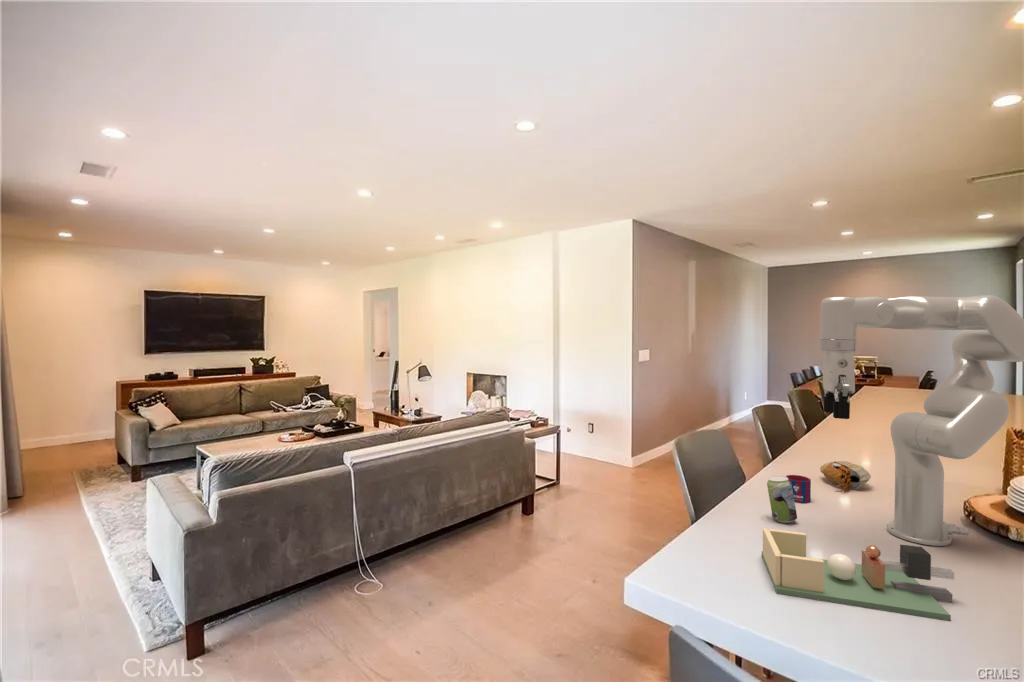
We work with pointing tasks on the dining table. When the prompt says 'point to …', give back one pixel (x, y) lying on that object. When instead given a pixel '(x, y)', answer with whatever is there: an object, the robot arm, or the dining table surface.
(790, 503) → the beverage can
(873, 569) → the copper sphere contraption
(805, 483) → the mug
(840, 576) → the ball
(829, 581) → the pitch
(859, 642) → the dining table surface
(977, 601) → the dining table surface
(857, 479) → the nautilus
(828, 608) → the dining table surface
